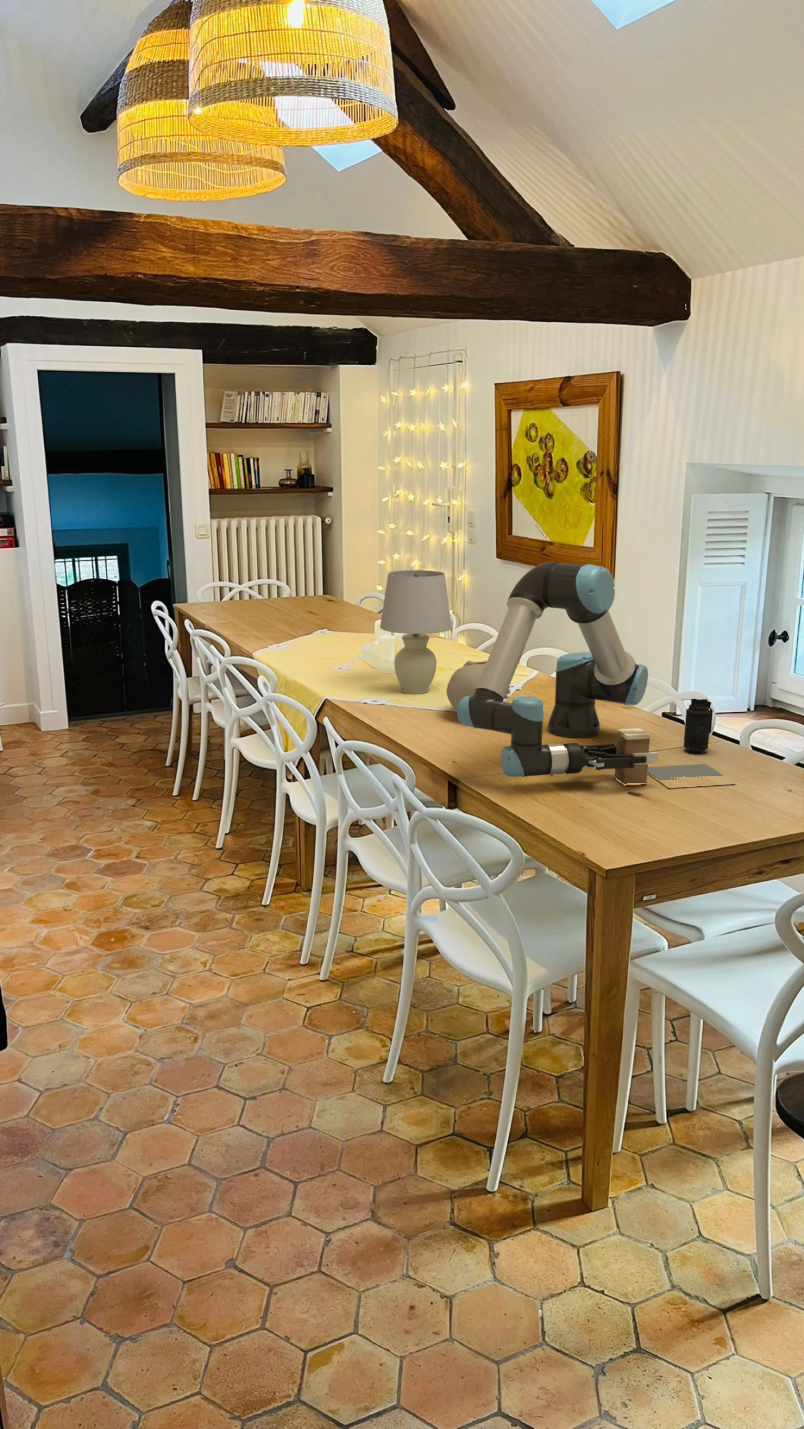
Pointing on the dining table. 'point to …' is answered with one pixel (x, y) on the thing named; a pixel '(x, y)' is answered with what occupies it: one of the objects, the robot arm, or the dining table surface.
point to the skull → (465, 682)
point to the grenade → (698, 725)
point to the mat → (682, 771)
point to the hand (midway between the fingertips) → (651, 753)
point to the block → (627, 745)
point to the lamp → (415, 623)
